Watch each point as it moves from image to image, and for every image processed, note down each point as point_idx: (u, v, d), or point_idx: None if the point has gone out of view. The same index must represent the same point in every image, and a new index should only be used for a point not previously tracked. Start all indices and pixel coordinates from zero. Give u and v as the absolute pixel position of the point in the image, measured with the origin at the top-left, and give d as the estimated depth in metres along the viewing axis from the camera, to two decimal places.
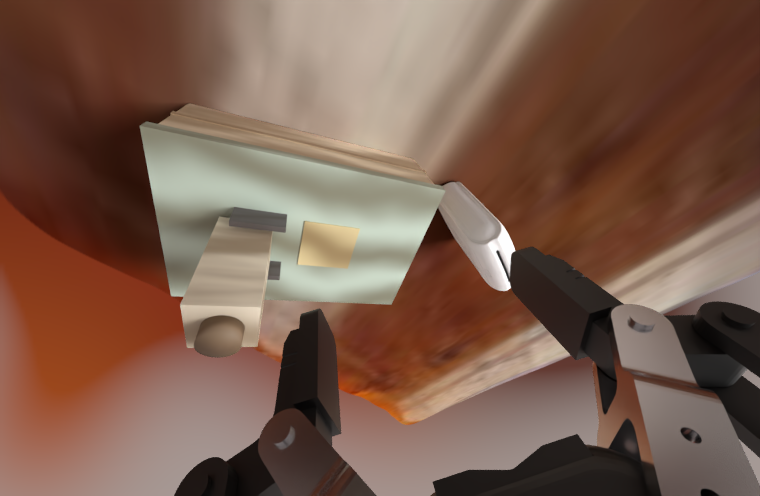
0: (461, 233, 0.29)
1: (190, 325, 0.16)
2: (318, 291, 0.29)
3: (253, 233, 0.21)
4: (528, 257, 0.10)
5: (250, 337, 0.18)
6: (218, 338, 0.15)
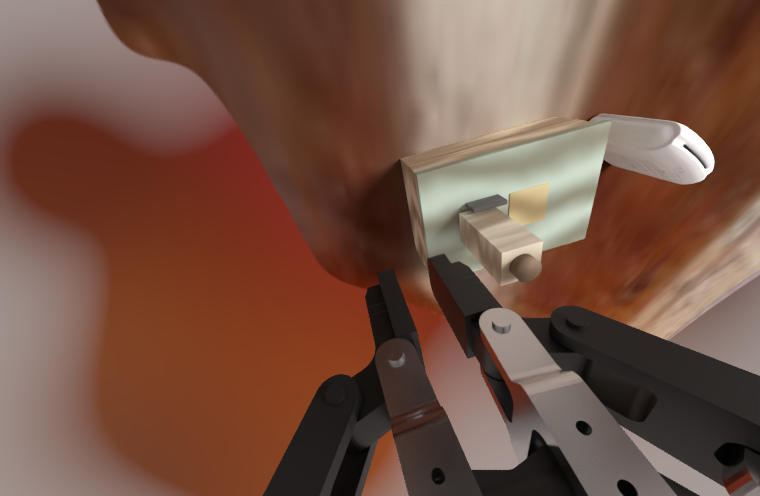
0: (634, 149, 0.33)
1: (504, 267, 0.26)
2: None
3: (488, 212, 0.31)
4: (436, 263, 0.11)
5: None
6: (530, 265, 0.24)
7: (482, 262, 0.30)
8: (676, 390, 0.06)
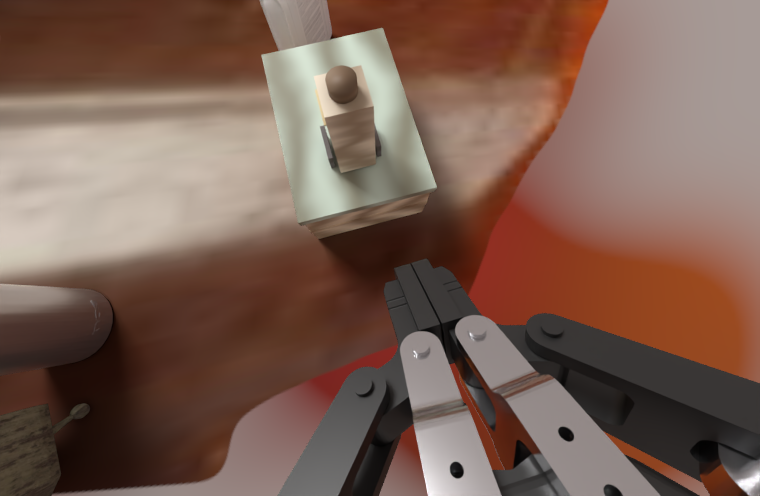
0: (289, 22, 0.35)
1: (345, 108, 0.21)
2: (389, 90, 0.33)
3: None
4: (418, 269, 0.11)
5: None
6: (332, 80, 0.21)
7: (370, 135, 0.25)
8: (651, 393, 0.06)
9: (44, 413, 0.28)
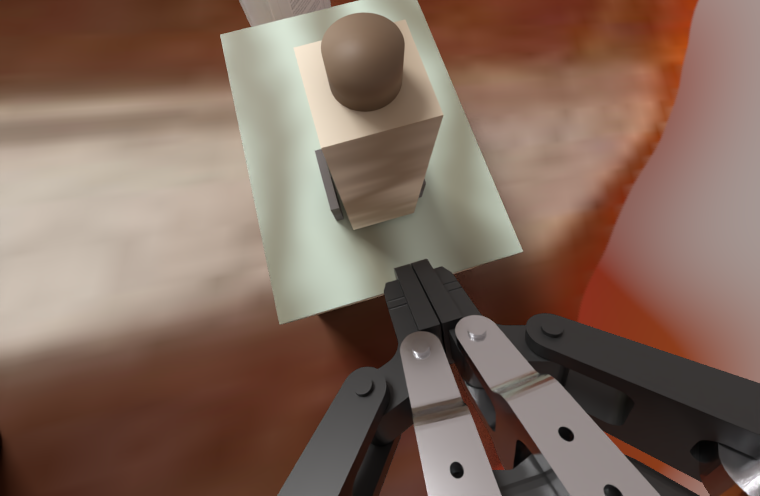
0: None
1: (372, 123, 0.09)
2: None
3: None
4: (418, 269, 0.11)
5: None
6: (340, 51, 0.08)
7: (417, 173, 0.12)
8: (651, 393, 0.06)
9: None
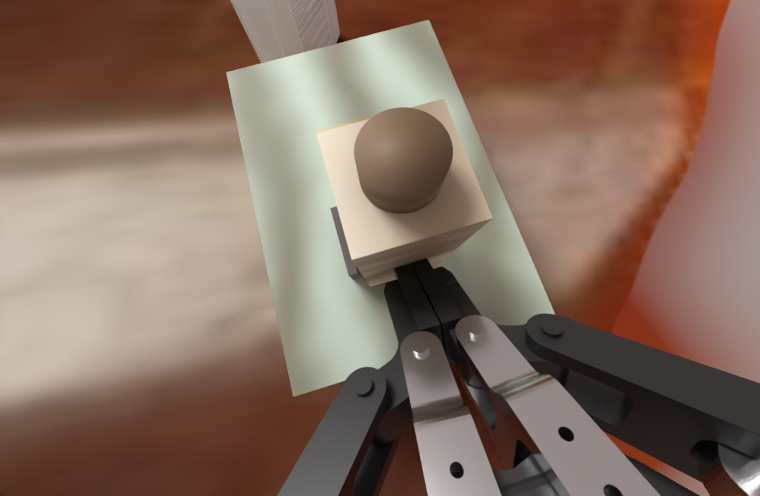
0: (273, 17, 0.21)
1: (410, 229, 0.07)
2: None
3: None
4: (418, 269, 0.11)
5: None
6: (376, 156, 0.07)
7: (448, 249, 0.11)
8: (651, 393, 0.06)
9: None
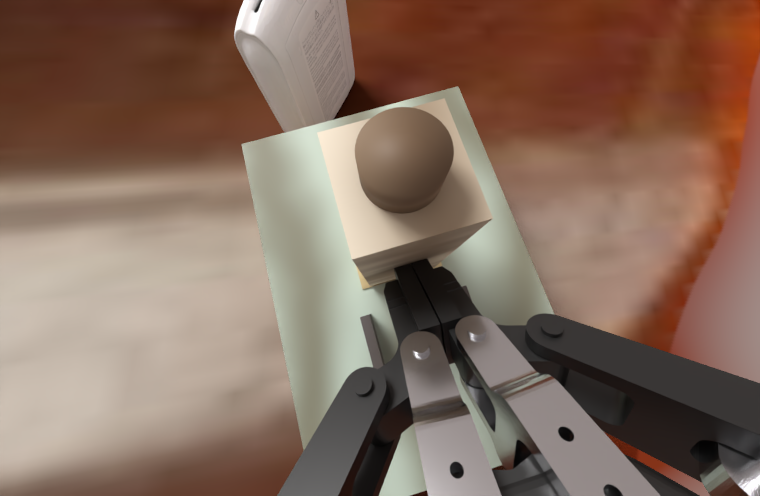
0: (291, 80, 0.20)
1: (411, 229, 0.07)
2: None
3: None
4: (418, 269, 0.11)
5: None
6: (377, 156, 0.07)
7: (448, 249, 0.11)
8: (651, 393, 0.06)
9: None
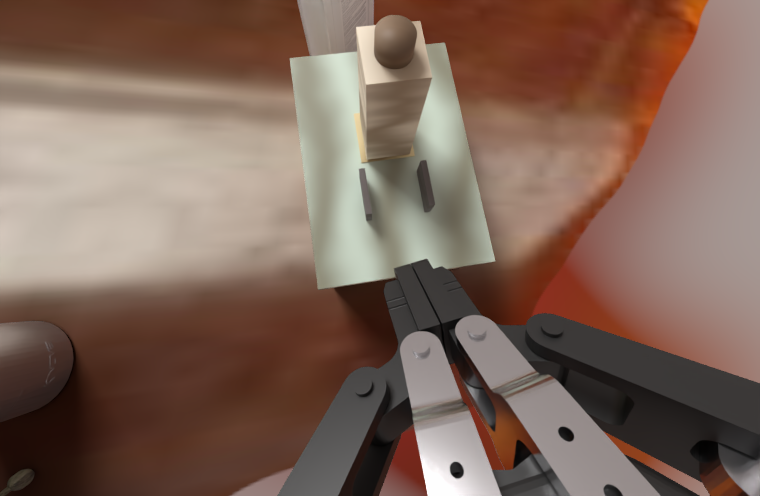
0: (328, 19, 0.28)
1: (394, 76, 0.16)
2: (447, 125, 0.26)
3: (361, 121, 0.24)
4: (418, 269, 0.11)
5: None
6: (383, 34, 0.15)
7: (415, 116, 0.20)
8: (651, 393, 0.06)
9: None
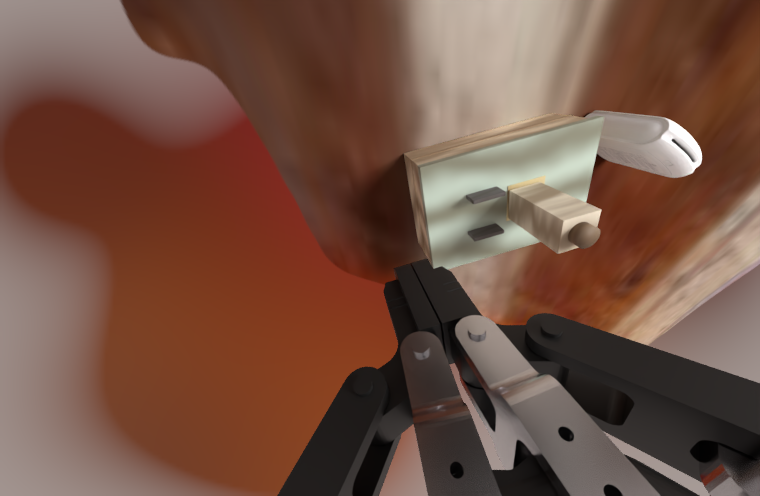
0: (626, 144, 0.35)
1: (564, 235, 0.28)
2: (522, 238, 0.39)
3: (539, 189, 0.33)
4: (418, 269, 0.11)
5: None
6: (590, 232, 0.26)
7: (535, 234, 0.32)
8: (651, 393, 0.06)
9: None
